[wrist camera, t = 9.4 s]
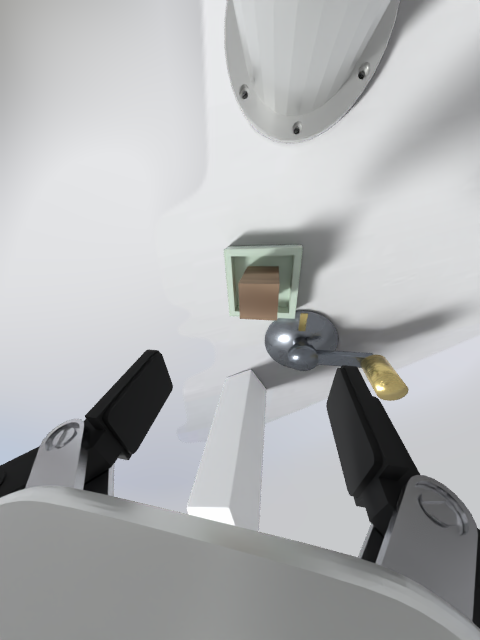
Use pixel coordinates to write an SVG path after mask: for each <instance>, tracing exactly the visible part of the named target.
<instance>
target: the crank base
mask: <svg viewBox="0 0 480 640" xmlns="http://www.w3.org/2000/svg"><path fill="white" fill-rule="evenodd" d="M297 343H308V344H311V345H312V346H314V348H315V349H316V350H329V351H335V350H336V348H337V345H338V334H337V331H336V329H335V327H334V325H333V324H332V323H331V321H329V320H328V319H327V318H326V317H324V316H322V315H320V314H318V313H315V312H311V311H296V313H295V319H289V318H277V320H275V321H274V322H273V323H272V324H271V325H270V326H269V328H268V330H267V332H266V335H265V346H266V349H267V352H268V353H269V355H270V356H271V357H272V358H273V359H274V360H275V361H276V362H278V363H280V364H281V365H284V366H287V367H290V368H293V367H291V365H290V364H289V361H288V350H289V348H290V347H291V346H293V345H294V344H297ZM317 365H319V364H317ZM317 365H316V366H317Z"/></svg>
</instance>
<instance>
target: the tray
mask: <svg viewBox="0 0 480 640" xmlns="http://www.w3.org/2000/svg"><path fill="white" fill-rule="evenodd" d="M302 252H303V247H302V246H301V245H300V244H295V245H260V246H228V247H227V248H225V249H224V258H225V269H226V280H227V292H228V303H229V314H230V316H238V317H240V310H239V288H238V283H239V281H240V279H241V278H242V276H243V274H244V272H245V270H246V268H247V267H248V266H279V283H280V285H279V299H278V313H277V318H289V319H295V313H296V304H297V295H298V286H299V278H300V269H301V260H302Z"/></svg>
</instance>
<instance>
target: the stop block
mask: <svg viewBox="0 0 480 640" xmlns="http://www.w3.org/2000/svg"><path fill="white" fill-rule="evenodd" d="M279 285H280V283H279V266H248V267H247V268H246V270H245V272H244V274H243V276H242V278H241V279H240V281H239V283H238V288H239V310H240V319H257V320H277V313H278V299H279Z"/></svg>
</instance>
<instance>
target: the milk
mask: <svg viewBox="0 0 480 640" xmlns="http://www.w3.org/2000/svg"><path fill="white" fill-rule="evenodd" d="M265 408H266V388H265V387H264V386H263V384H262V383H261V382H260V380H259V379H258V378H257V376H256V375H255V374H254V372H253V371H252V370H248V371H245V372H242V373H239V374H236V375H233V376H230V377H227V378H226V380H225V383H224V386H223V389H222V393H221V396H220V399H219V403H218V406H217V409H216V412H215V416H214V419H213V422H212V426H211V429H210V432H209V435H208V439H207V442H206V445H205V448H204V452H203V455H202V458H201V462H200V465H199V468H198V471H197V475H196V478H195V481H194V485H193V488H192V491H191V494H190V498H189V501H188V504H187V510H188V513H189V515H193V516H197V517H201V518H205V519H209V520H213V521H217V522H221V523H225V524H230V525H234V526H238V527H242V528H246V529H250V530H254V531H258V530H259V519H260V501H261V482H262V463H263V445H264V426H265Z"/></svg>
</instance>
